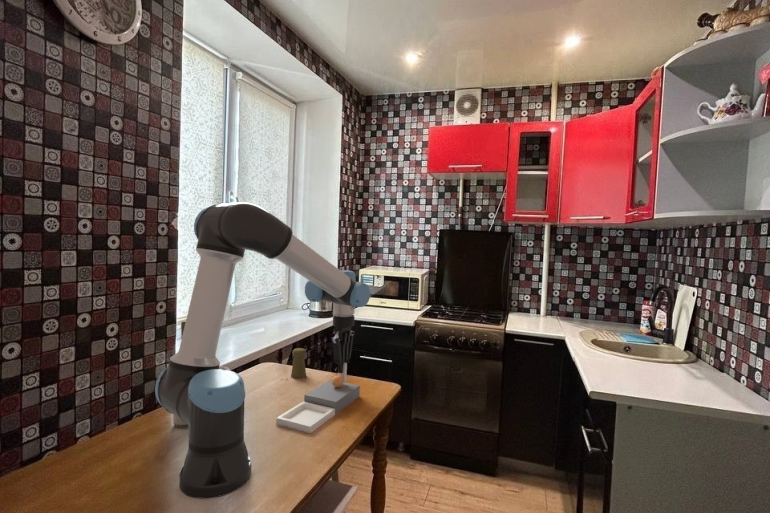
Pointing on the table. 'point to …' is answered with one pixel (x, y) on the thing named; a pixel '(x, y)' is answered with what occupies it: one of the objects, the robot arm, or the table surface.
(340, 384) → the ball
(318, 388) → the deck
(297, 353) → the cork
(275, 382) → the table surface
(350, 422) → the table surface
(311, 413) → the tray
